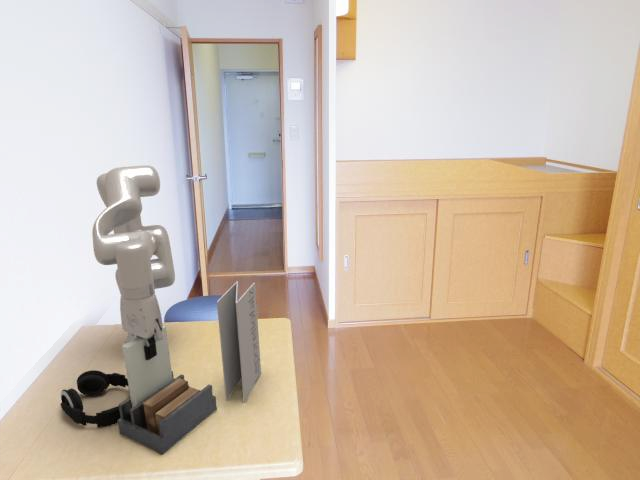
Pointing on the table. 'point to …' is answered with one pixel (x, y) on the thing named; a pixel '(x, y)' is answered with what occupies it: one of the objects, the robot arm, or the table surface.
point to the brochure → (239, 339)
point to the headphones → (92, 386)
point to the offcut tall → (162, 402)
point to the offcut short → (174, 405)
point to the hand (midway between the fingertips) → (147, 355)
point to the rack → (166, 419)
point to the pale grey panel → (146, 368)
